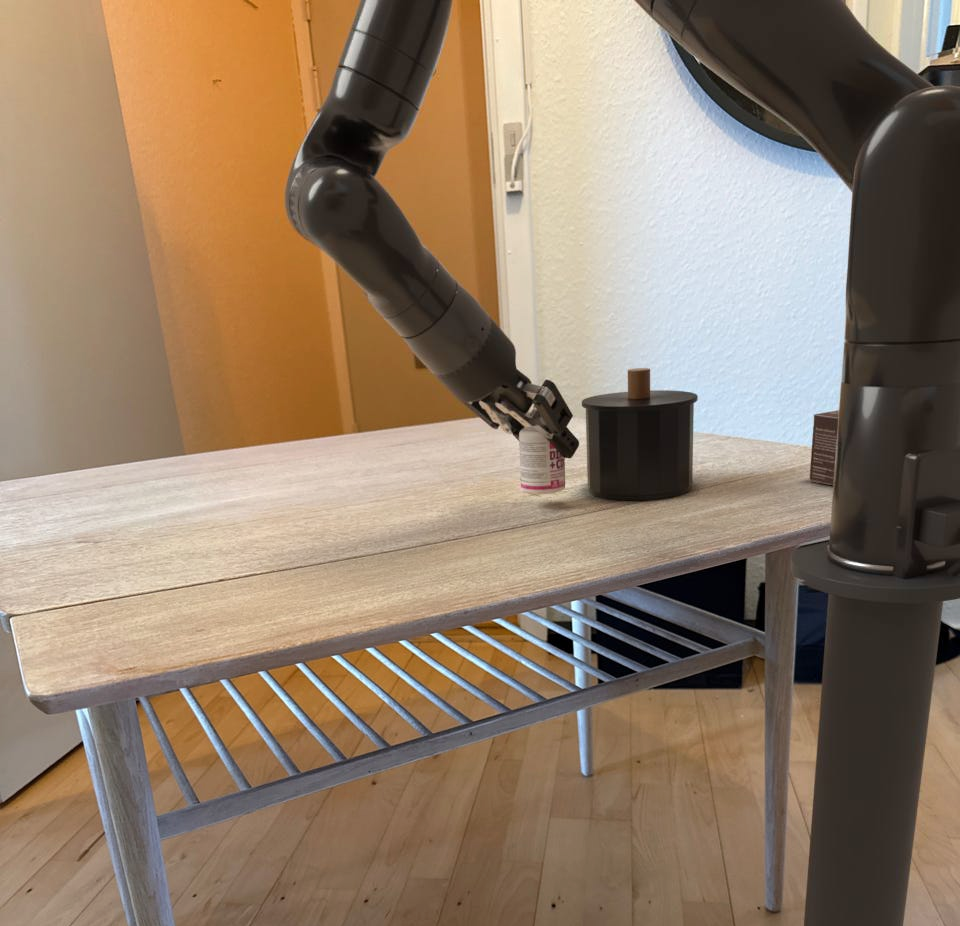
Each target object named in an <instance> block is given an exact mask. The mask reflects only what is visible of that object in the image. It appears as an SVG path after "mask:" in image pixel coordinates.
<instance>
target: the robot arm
mask: <svg viewBox="0 0 960 926" xmlns="http://www.w3.org/2000/svg"><path fill="white" fill-rule="evenodd" d="M633 1H634V2H635V4H637V5H638V6H639V7H640V8H641V9H642V10H643V11H644V12H645V13H646V14H647V16H648V17H650V18H651V19H652V20H653V21H654V22H655V23H656V24H657V26H659V27H660V28H662V29H663V30H664V31H665V33H667V34H668V35H669V36H670V37H671V38H672V39H673V40H674V41H676V42H677V43H678V44H679V45H680V46H681V47H682V48H683V49H684V50H685V51H686V52H688V54H690V55H691V56H693V58H695V59H696V60H698V61H699V62H700V63H701V64H703V66H705V67H706V68H708V69H709V70H710V71H712V72H713V73H714V74H716V76H718V77H719V78H721V80H723V81H725V82H726V83H728V85H730V86H732V87H733V88H734V89H735V90H736V91H739V92H740V93H741V94H742V95H744V96H746V97H747V98H748V99H750V100H751V101H753V102H755V103H756V104H758V105H759V106H761V107H762V108H763V109H765V110H767V111H768V112H769V113H771V114H773V115H774V116H776V117H777V118H778V119H780V120H781V121H783V122H784V123H786V125H788V126H789V127H791V128H792V129H793V130H794V131H795V132H796V133H797V134H799V136H801V137H802V138H803V140H805V141H806V142H807V144H808V145H810V146H811V148H813V149H814V150H815V152H816V153H817V154H818V155H819V156H820V157H821V158H822V160H824V161H825V162H826V163H827V165H828V166H829V167H830V168H831V169H832V171H833V172H834V173H835V174H836V175H837V176H838V177H839V178H840V180H841V182H843V183H844V185H845V186H846V187H847V188H848V189H849V191H850V193H851V207H850V218H849V219H850V222H849V235H848V253H847V268H846V279H845V281H846V282H845V324H844V335H843V338H844V341H843V352H842V365H841V379H840V380H841V381H840V391H839V392H840V393H839V404H838V405H839V406H838V410H839V416H838V429H837V443H836V456H835V470H834V483H833V485H832V495H831V496H832V499H831V514H830V527H829V528H830V529H829V539H828V540H829V545H828V549H827V558H828V560H829V561H830V562H832V563H833V564H835V565H837V566H840V567H842V568H845V569H849V570H852V571H857V572H862V573H868V574H876V575H887V576H894V577H898V578H901V579H910V578H914V577H918V576H922V575H926V574H931V573H935V572H939V571H943V570H947V569H948V573H949V574H950V575H951V576H957V575H958V574H959V573H960V86H956V85H936V86H935V85H933V84H932V83H931V82H930V81H928V80H926V79H925V78H924V77H922V76H921V75H920V74H918V73H917V72H916V71H914V70H913V69H912V68H910V67H909V66H908V65H906V64H905V63H904V62H903V61H901V60H900V59H898V58H897V57H896V56H895V55H893V54H892V53H891V52H889V50H888V49H887V48H885V47H884V46H883V45H882V44H880V43H879V42H878V41H877V40H876V39H875V38H874V37H873V36H872V35H871V34H870V33H869V32H868V31H867V30H866V28H865V27H864V26H863V25H862V23H861V22H860V21H859V20H858V19H857V17H856V16H855V15H854V13H853V12H852V11H851V9H850V8H849V6H848V4H846V2H845V1H844V0H633ZM452 6H453V0H360V1H359V5H358V7H357V9H356V13H355V15H354V17H353V21H352V23H351V26H350V29H349V32H348V34H347V37H346V39H345V43H344V46H343V48H342V50H341V51H342V52H341V54H340V57H339V60H338V63H337V67H336V69H335V72H334V75H333V78H332V82H331V85H330V89H329V92H328V94H327V95H326V98H325V100H324V101H323V103H322V105H321V107H320V108H319V110H318V111H317V113H316V114H315V117H314V119H313V121H312V122H311V124H310V126H309V128H308V131H307V132H306V133H305V136H304V137H303V140H302V142H301V144H300V146H299V148H298V149H297V151H296V154H295V157H294V158H293V161H292V164H291V167H290V169H289V172H288V175H287V179H286V183H285V190H284V208H285V212H286V216H287V218H288V221H289V223H290V225H291V226H292V228H293V229H294V231H295V233H297V234H298V235H299V237H301V238H303V239H304V240H306V241H307V242H309V243H310V244H312V245H313V246H315V247H317V248H318V249H319V250H321V251H322V252H324V254H326V255H327V256H328V257H329V258H330V259H331V260H333V262H334V263H335V264H337V265H338V266H339V267H340V268H341V269H342V270H343V271H344V272H345V273H346V274H347V275H348V276H349V277H350V278H351V279H352V280H353V281H354V282H355V283H356V284H357V285H358V286H359V287H360V288H361V289H362V291H363V293H364V296H365V297H366V299H367V301H368V302H369V304H370V305H371V306H372V307H373V309H374V310H375V311H376V312H377V313H378V315H380V316H381V318H383V319H384V320H385V322H387V324H389V326H391V328H392V329H393V330H394V331H395V332H396V333H397V334H398V335H399V336H400V337H401V339H402V340H403V341H404V342H405V343H406V345H407V346H408V348H409V349H410V351H411V352H412V353H413V355H414V356H416V358H418V360H419V361H420V362H421V363H422V364H423V365H424V366H425V367H426V368H427V369H428V370H429V371H430V372H431V373H432V375H433V376H435V377H436V378H437V380H438V381H440V383H442V385H443V386H445V388H446V389H447V390H448V391H449V392H450V393H451V394H452V395H453V396H454V397H455V398H456V399H457V400H458V401H460V402H461V403H462V404H463V405H464V406H466V408H468V409H469V410H470V411H472V412H473V414H475V415H476V416H477V417H479V419H481V420H482V421H483V422H484V423H486V424H487V425H488V426H489V427H490V428H491V429H494V430H498V429H499V427H500V428H501V429H502V431H503V432H504V433H506V434H508V435H512V436H513V437H514V438H515V439H516V440H517V442H519V433H520V431H521V430H522V429H523V428H524V426H525V427H526V428H530V427H534V428H535V429H536V430H537V431H539V432H540V433H541V434H542V435H544V436H545V437H546V439H547V440H548V441H549V442H550V443H551V444H552V445H553V446H554V447H555V448H556V450H557V451H558V452H559V453H560V454H561V455H562V456H563V457H564V458H565V459H572V458H573V456H574V455H575V454H576V452H577V450H578V448H579V447H580V440H579V439H578V438H577V437H576V435H574V433H572V431H571V430H570V429H569V428H568V425H569V423H570V422H571V420H572V418H573V417H574V415H573V412H572V411H571V409H570V407H569V406H568V404H567V402H566V401H565V399H564V397H563V396H562V395H563V394H561V392H560V391H559V389H558V387H557V385H556V384H555V382H553V381H552V380H550V379H545V380H544V381H543V383H542V384H541V385H537V384H533V383H532V380H531V379H530V378H529V377H528V376H527V375H526V374H524V373H523V372H521V370H519V369H518V368H517V362H516V361H517V358H516V357H517V351H516V346H515V345H514V343H513V341H512V340H511V339H510V338H509V337H508V335H507V334H505V332H504V331H503V329H501V327H500V325H498V324H497V323H496V321H495V320H494V319H493V318H492V317H491V316H490V314H489V313H488V312H487V311H486V310H485V309H484V307H483V306H482V305H481V304H480V303H479V301H478V300H477V299H476V298H475V297H474V296H473V295H472V294H471V292H469V291H468V290H467V289H465V287H463V286H462V285H461V283H459V282H458V281H457V280H456V279H455V278H454V277H453V276H452V274H451V273H450V272H449V271H448V269H447V268H445V266H444V265H443V264H442V263H441V262H440V260H439V259H438V258H437V257H436V255H434V253H432V251H431V250H429V249H428V247H426V245H424V243H422V241H421V239H420V237H419V235H418V234H417V232H416V231H415V229H414V228H413V226H412V225H411V223H410V221H409V219H408V218H407V217H406V215H405V213H404V212H403V211H402V209H401V208H400V206H399V205H398V203H397V202H396V201H395V199H394V198H393V197H392V195H391V194H390V193H389V192H388V190H387V189H386V188H385V187H384V186H383V185H382V184H381V183H380V181H378V179H376V177H377V174H378V172H379V170H380V168H381V166H382V164H383V162H384V160H385V158H386V155H387V154H388V152H389V151H390V150H391V149H392V148H394V147H396V146H397V145H400V144H401V143H402V142H404V141H405V140H406V138H407V137H408V136H409V134H410V132H411V131H412V129H413V126H414V125H415V122H416V121H417V117H418V115H419V111H420V110H421V107H422V105H423V102H424V99H425V96H426V94H427V91H428V90H429V89H428V88H429V87H430V83H431V82H432V79H433V76H434V74H435V71H436V69H437V65H438V63H439V59H440V57H441V53H442V52H443V48H444V47H443V46H444V44H445V41H446V36H447V32H448V27H449V23H450V17H451V12H452V8H453V7H452ZM532 406H533V407H532ZM532 408H534V409H533V410H532V412H531V413H530V415H529V417H527V416H526V415H525V414H526V413H527V412H528V411H529V409H532ZM540 417H542V418H543V420H544V421H545V423H546V426H545V425H544V424H543V423H542V422H541V421H540ZM523 425H524V426H523Z"/></svg>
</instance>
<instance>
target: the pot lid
mask: <svg viewBox="0 0 960 926" xmlns="http://www.w3.org/2000/svg"><path fill="white" fill-rule="evenodd" d="M698 397H699V396H698V394H697V393H695V392H692V391H684V390H667V389H665V390H663V389H661V390H660V389H659V390H656V389H655V390H654V389H653V390H652V389H651V368H649V367H638V368H630V369H627V391H619V392H611V393H603V394H598V395H592V396H589V397H585V398H584V399H582V400H581V406H582V408H583V409H585V410H586V409H591V410H599V411H644V410H658V409H667V408H674V407H680V406H685V405H689V404H692V403H694V404H695V403H696V402H697V401H698V400H699V399H698Z"/></svg>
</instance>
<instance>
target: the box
mask: <svg viewBox="0 0 960 926" xmlns="http://www.w3.org/2000/svg"><path fill="white" fill-rule="evenodd" d="M838 416H839V409H838V410H832V411H825V412H821V413H815V414H813V426H812V441H811V452H810V456H811V457H810V468H809V469H810V470H809V480H810V482H812V483H816V484H824V485H829V486H833V483H834V470H835V456H836V443H837V429H838Z"/></svg>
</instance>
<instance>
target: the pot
mask: <svg viewBox="0 0 960 926" xmlns="http://www.w3.org/2000/svg"><path fill="white" fill-rule="evenodd" d="M694 405H695V403H692V404H689V405H685V406H680V407H674V408H667V409H658V410H644V411H599V410H591V409H586V408H585V434H586V437H585V439H586V440H585V441H586V473H587V477H586V478H587V487H588V493H589V494H590V495H591V496H594V497H595V498H601V499H605V500H612V501H623V502H627V501H629V502H632V501H634V502H637V501H642V502H643V501H654V500H662V499H670V498H674V497H678V496H681V495H684V494H686V493H689V492H690V491H691V489H692V485H693V476H694V475H693V473H694V470H693V469H694V415H695V414H694V413H695V412H694V409H695V408H694Z"/></svg>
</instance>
